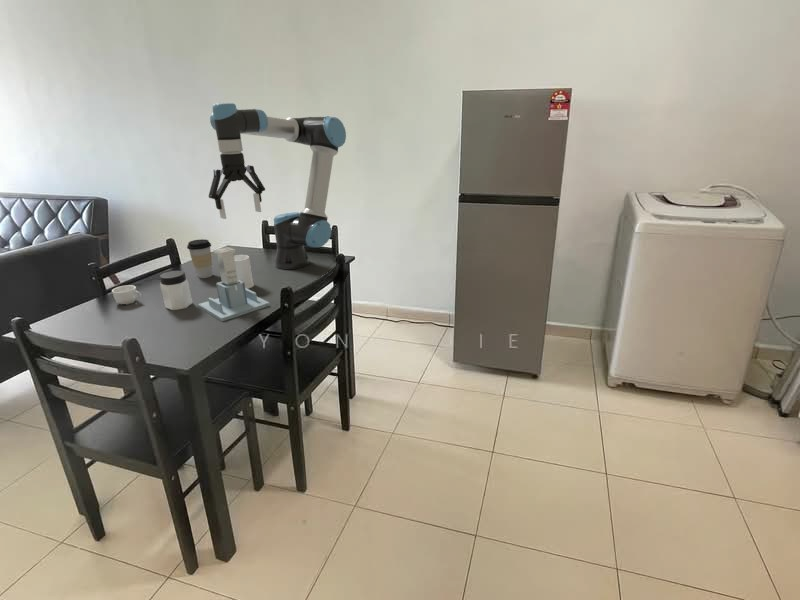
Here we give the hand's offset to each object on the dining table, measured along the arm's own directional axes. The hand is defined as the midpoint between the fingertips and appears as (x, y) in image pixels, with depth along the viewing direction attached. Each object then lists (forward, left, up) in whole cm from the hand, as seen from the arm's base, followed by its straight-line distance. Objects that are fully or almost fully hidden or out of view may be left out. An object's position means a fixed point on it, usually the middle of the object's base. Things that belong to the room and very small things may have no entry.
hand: (241, 214), depth 162 cm
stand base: (+11, +6, -30) cm, 33 cm away
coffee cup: (+3, -35, -31) cm, 46 cm away
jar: (+24, -10, -31) cm, 40 cm away
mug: (0, -10, -31) cm, 32 cm away
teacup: (+35, -27, -31) cm, 54 cm away
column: (+11, +6, -29) cm, 32 cm away
